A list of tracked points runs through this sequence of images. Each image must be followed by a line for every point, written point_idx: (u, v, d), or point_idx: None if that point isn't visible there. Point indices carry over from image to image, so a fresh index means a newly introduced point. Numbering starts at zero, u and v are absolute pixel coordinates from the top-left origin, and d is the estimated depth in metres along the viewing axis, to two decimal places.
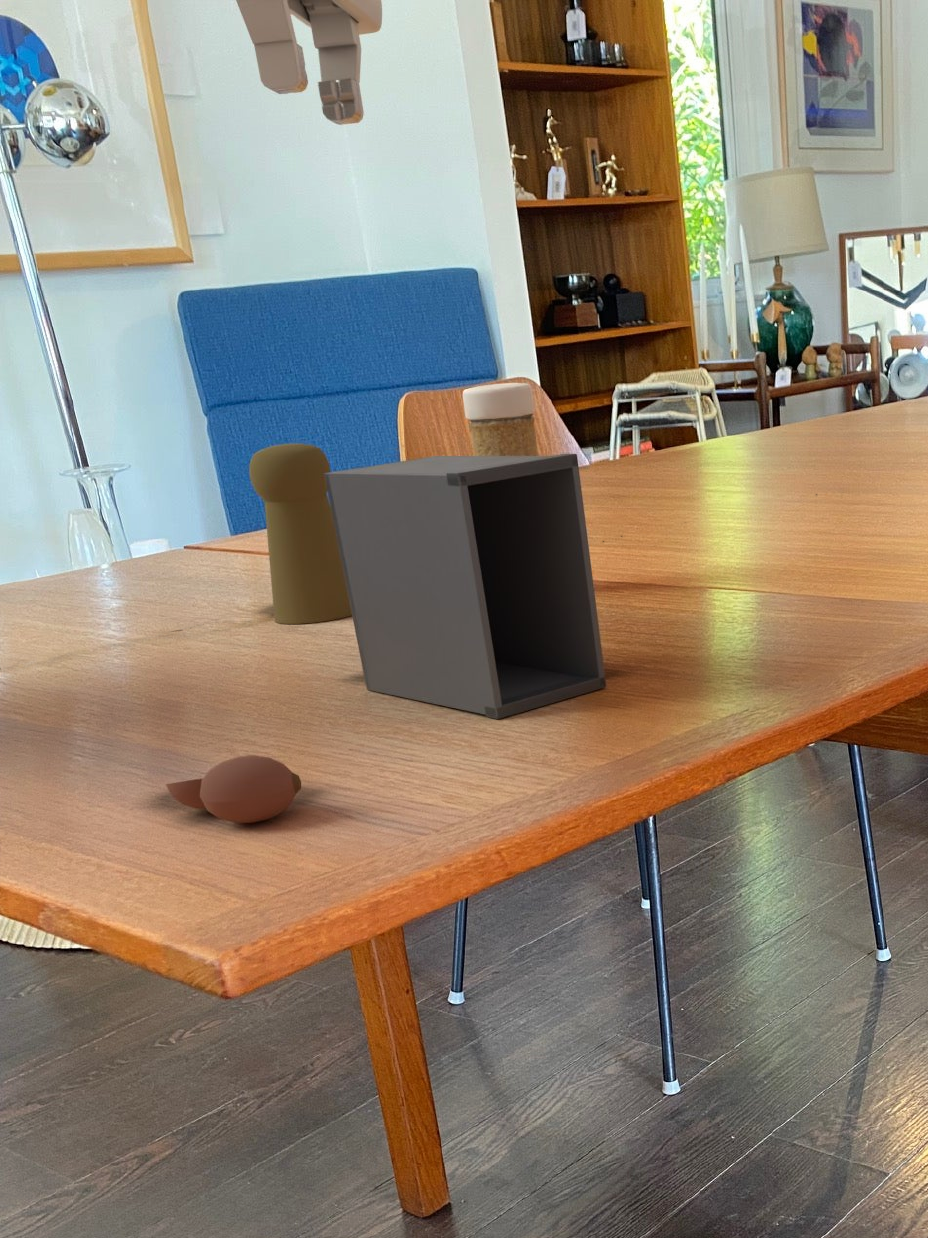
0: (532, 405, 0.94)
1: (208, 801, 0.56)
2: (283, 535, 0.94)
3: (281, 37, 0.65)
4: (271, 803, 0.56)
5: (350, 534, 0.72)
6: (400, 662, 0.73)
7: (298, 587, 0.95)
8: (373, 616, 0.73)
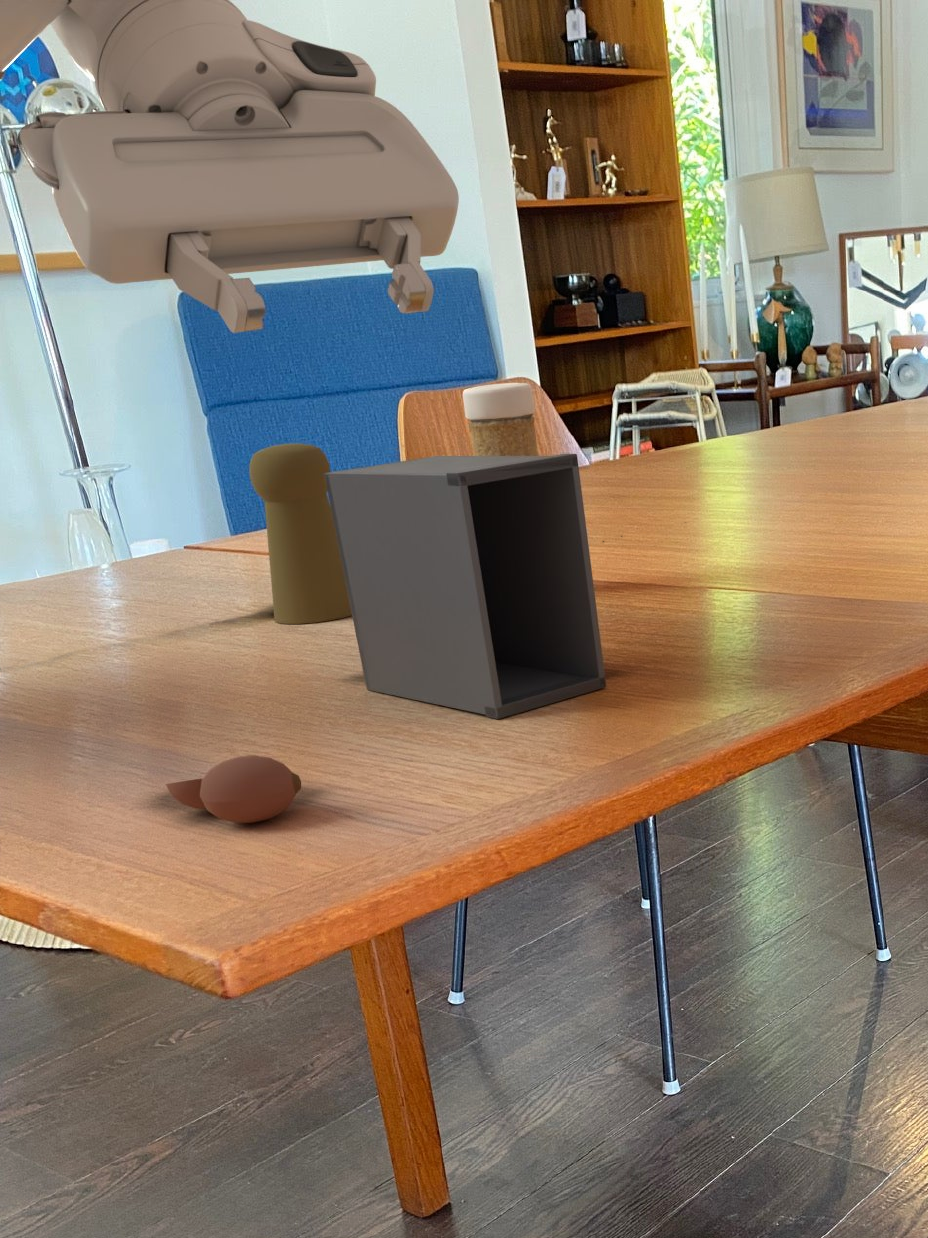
0: (532, 405, 0.94)
1: (208, 801, 0.56)
2: (283, 535, 0.94)
3: None
4: (271, 803, 0.56)
5: (350, 534, 0.72)
6: (400, 662, 0.73)
7: (298, 587, 0.95)
8: (373, 616, 0.73)
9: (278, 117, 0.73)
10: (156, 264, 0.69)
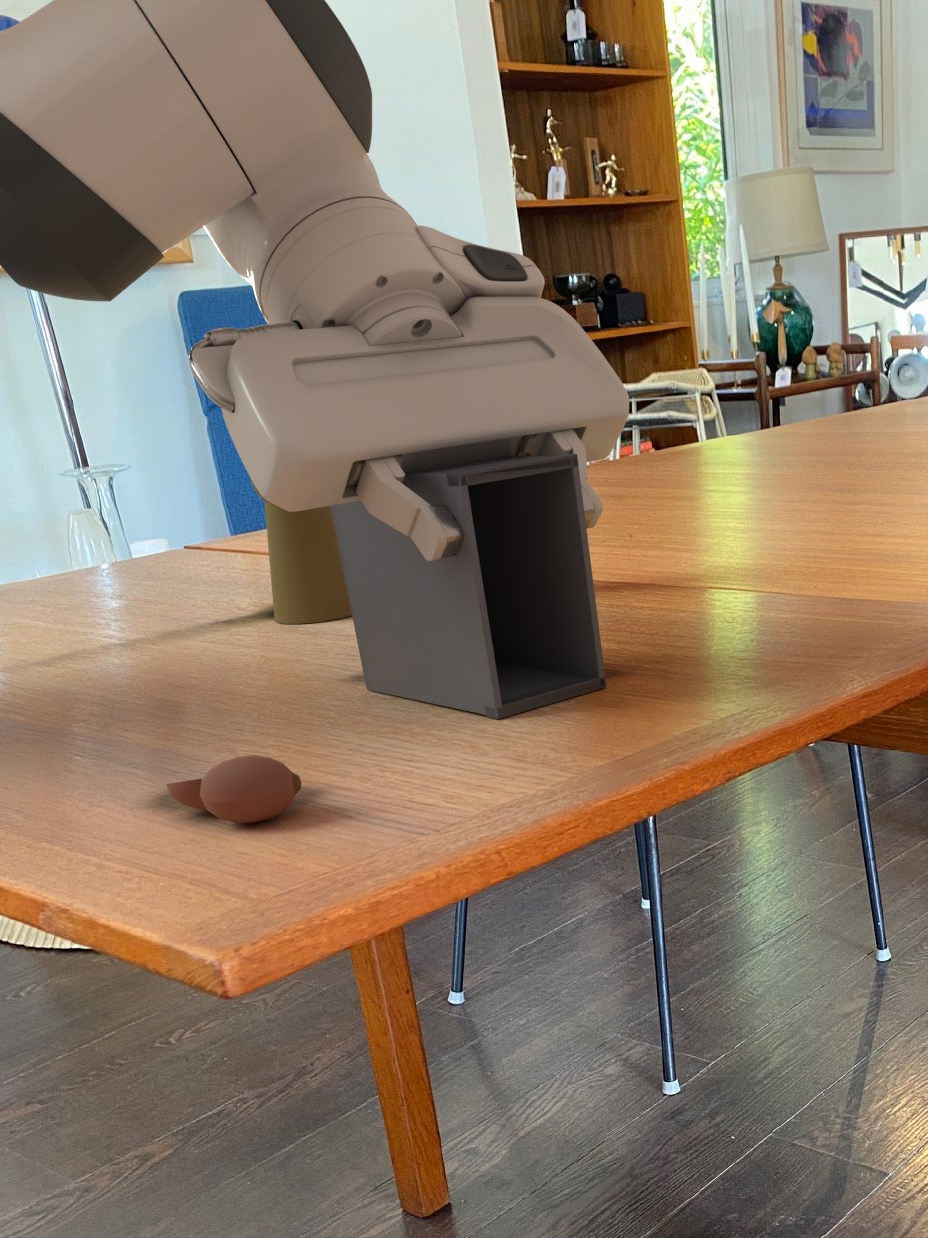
0: None
1: (208, 801, 0.56)
2: (283, 535, 0.94)
3: None
4: (271, 803, 0.56)
5: (350, 534, 0.72)
6: (400, 662, 0.73)
7: (298, 587, 0.95)
8: (373, 616, 0.73)
9: (453, 327, 0.69)
10: (336, 491, 0.65)
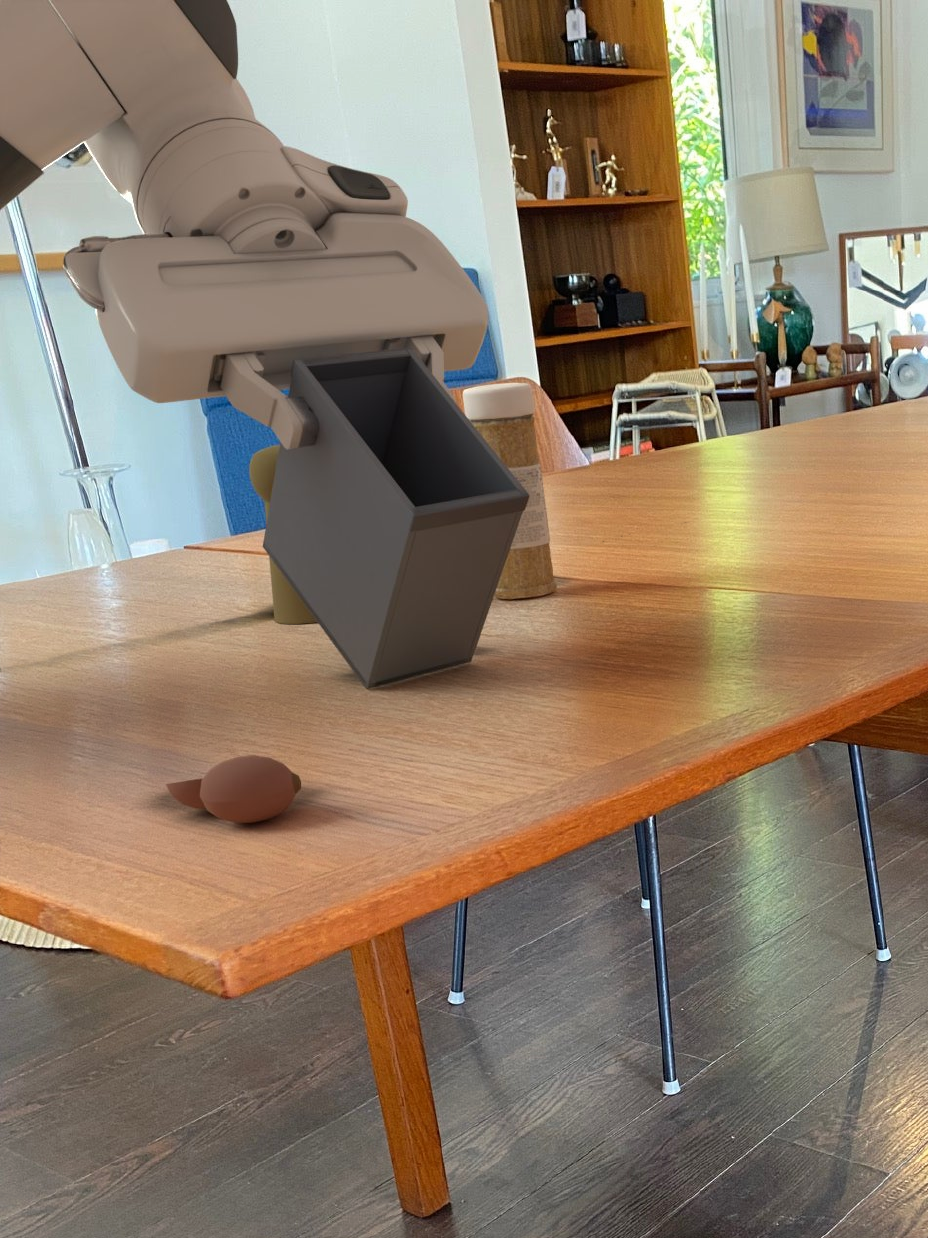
0: (532, 405, 0.94)
1: (208, 801, 0.56)
2: None
3: None
4: (271, 803, 0.56)
5: (293, 563, 0.77)
6: (361, 610, 0.74)
7: None
8: (333, 606, 0.76)
9: (316, 239, 0.74)
10: (200, 384, 0.70)
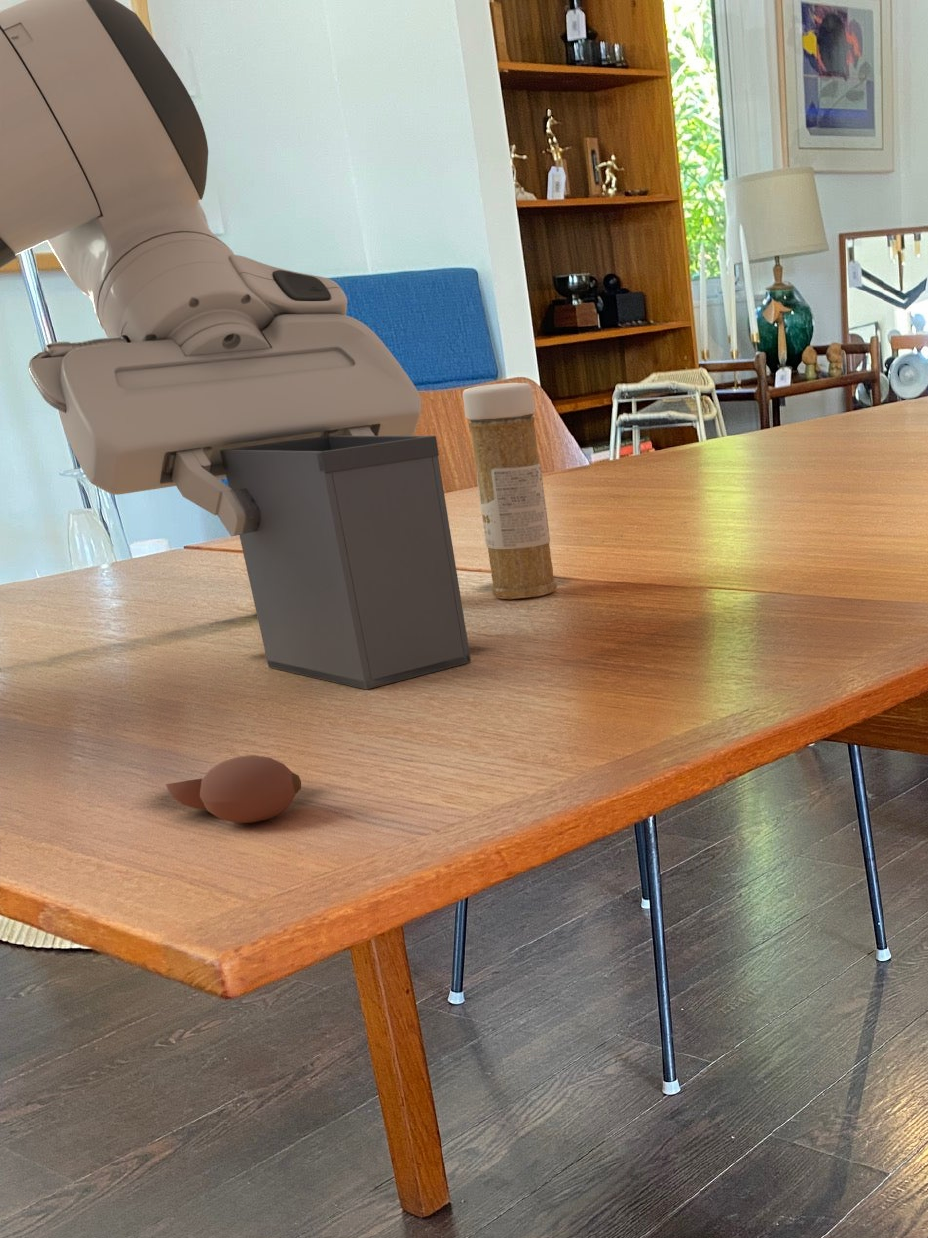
0: (532, 405, 0.94)
1: (208, 801, 0.56)
2: None
3: None
4: (271, 803, 0.56)
5: (287, 647, 0.81)
6: (333, 610, 0.76)
7: None
8: (320, 641, 0.78)
9: (261, 340, 0.82)
10: (153, 477, 0.78)
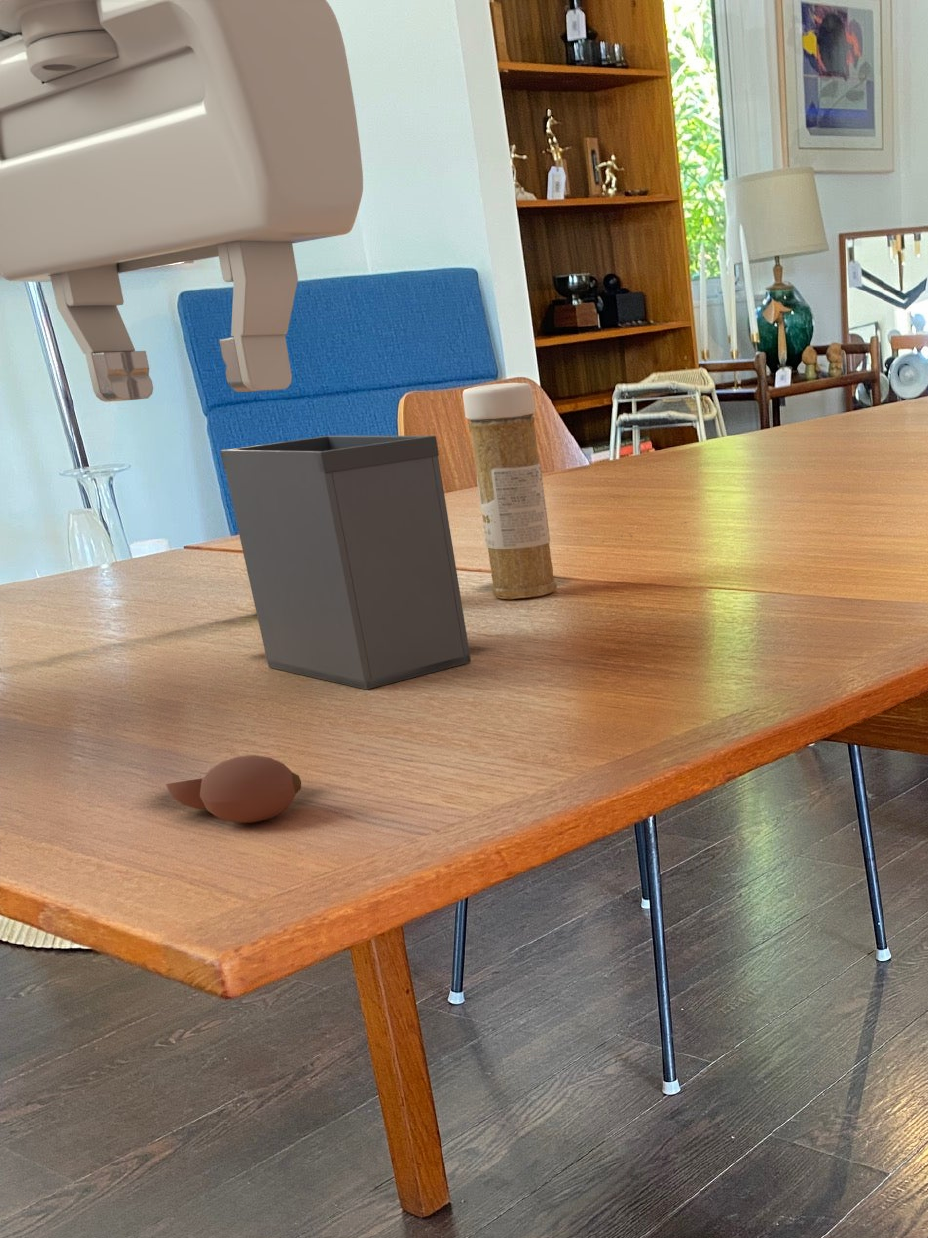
0: (532, 405, 0.94)
1: (208, 801, 0.56)
2: None
3: (276, 330, 0.51)
4: (271, 803, 0.56)
5: (287, 647, 0.81)
6: (333, 610, 0.76)
7: None
8: (320, 641, 0.78)
9: (90, 58, 0.48)
10: None
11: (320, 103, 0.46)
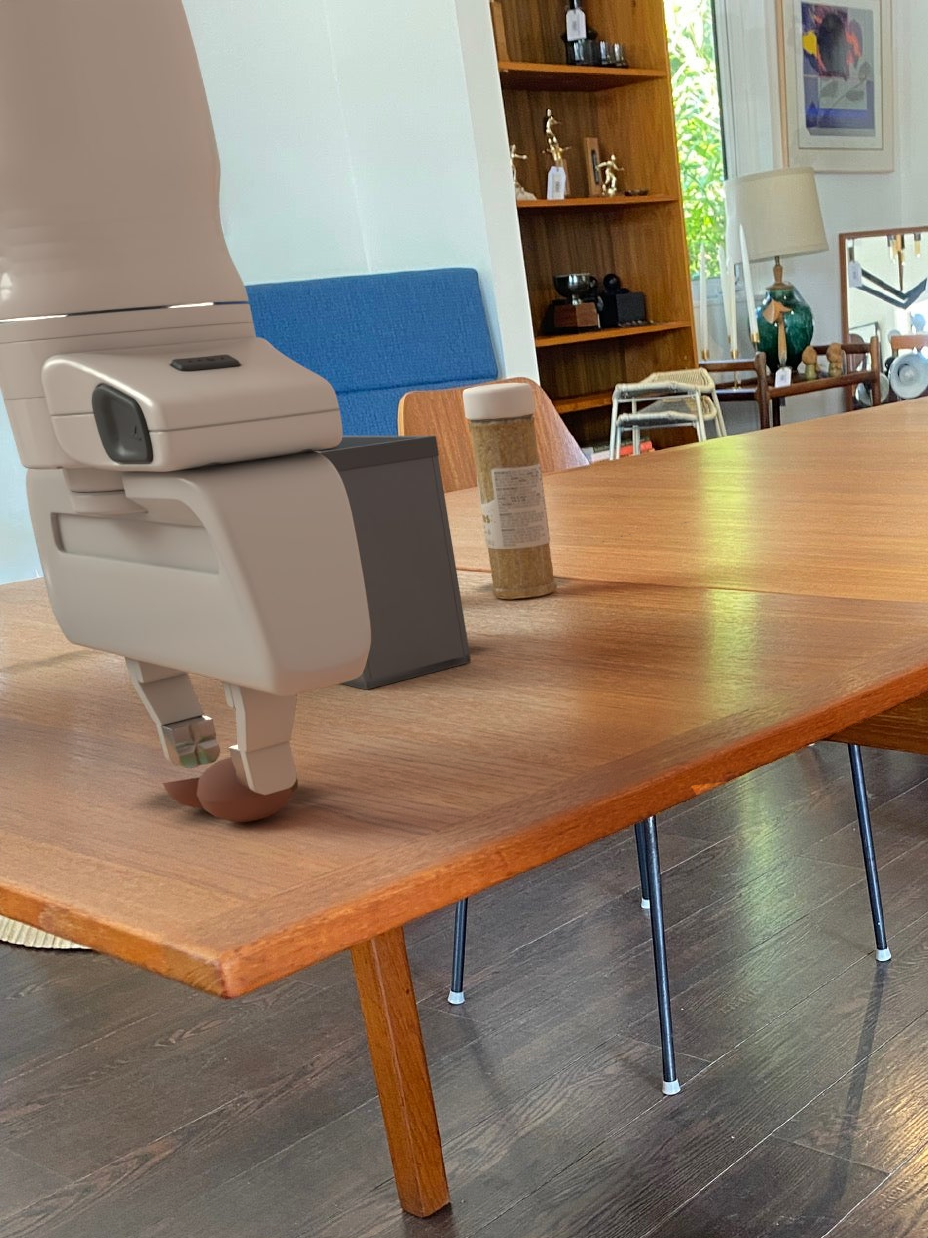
0: (532, 405, 0.94)
1: (205, 800, 0.56)
2: None
3: (280, 740, 0.54)
4: (268, 802, 0.56)
5: None
6: None
7: None
8: None
9: (122, 513, 0.50)
10: None
11: (325, 577, 0.47)
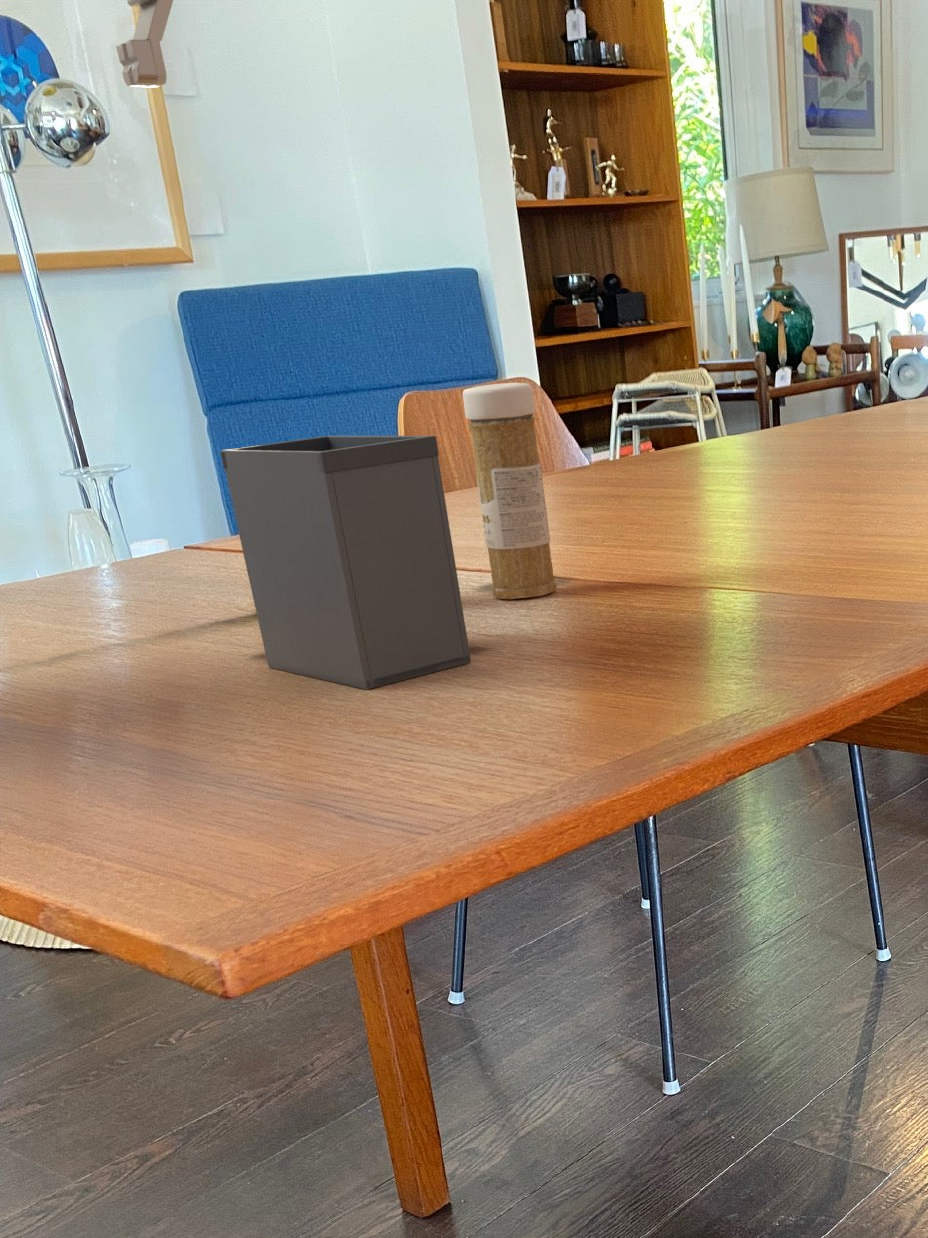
0: (532, 405, 0.94)
1: None
2: None
3: None
4: None
5: (287, 647, 0.81)
6: (333, 610, 0.76)
7: None
8: (320, 641, 0.78)
9: None
10: None
11: None
